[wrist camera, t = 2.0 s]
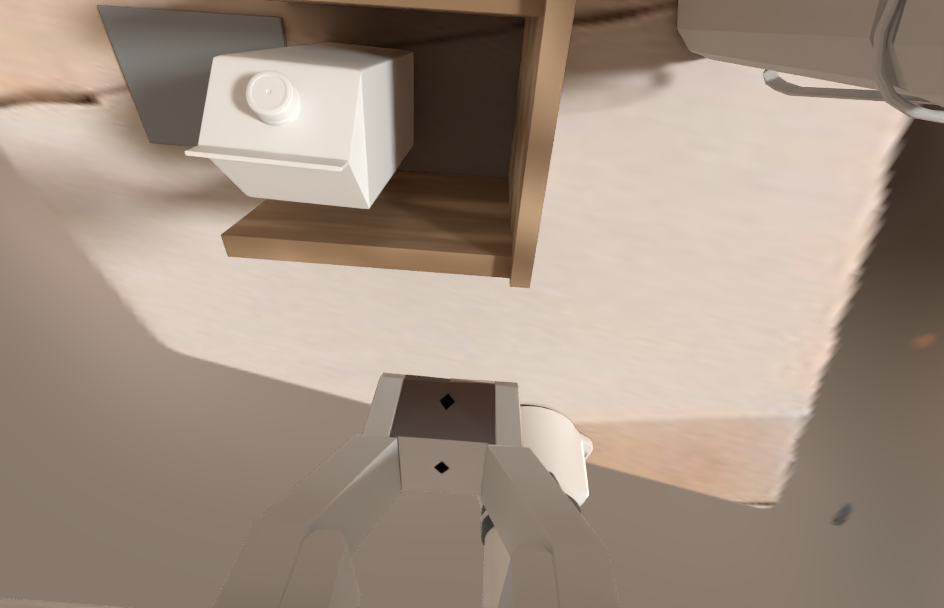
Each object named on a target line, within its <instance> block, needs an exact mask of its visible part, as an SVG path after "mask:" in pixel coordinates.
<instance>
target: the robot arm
mask: <svg viewBox="0 0 944 608" xmlns="http://www.w3.org/2000/svg"><path fill="white" fill-rule="evenodd" d="M592 450H593V445H592V441H591V440H590V439H589V438H587V437H585V436H584V435H582V434H580V433H579V432H578V431H577V430H576V428H575V427H574V425H573V424H572V423H571V422H570V421H569V420H568V419H567V418H566V417H564V416H563V415H561V414H559V413H557V412H555V411H553V410H550V409H546V408H542V407H535V406H520V395H519V386H518V384H517V383H512V382H497V381H495V382H494V381H483V380H467V379H452V378H450V379H446V378H436V377H426V376H416V375H402V374H392V373H383V374H382V375H381V377H380V379H379V382H378V385H377V388H376V391H375V394H374V398H373V401H372V404H371V407H370V411H369V414H368V417H367V420H366V423H365V427H364V429H363V433H362V435H356V434H355V435H354V436H353V437H351V438H350V439H349V440H348V441H347V442H346V443H344V444H343V445H342V446H341V447H340V448H338V449H337V450H336V451H335V452H334V453H333V454H332V455H330V456H329V457H328V458H327V459H326V460H325V461H323V462H322V463H321V464H320V465H319V466H318V467H317V468H315V469H314V470H313V471H312V472H311V473H310V474H308V475H307V476H306V477H305V478H304V479H303V480H302V481H300V482H299V483H298V484H297V485H296V486H295V487H293V488H292V489H291V490H290V491H289V492H288V493H286V494H285V495H284V496H283V497H282V498H281V499H279V500H278V501H277V502H276V503H275V504H274V505H273V506H271V507H270V508H269V509H268V510H267V511H266V512H264V513H263V514H262V515H261V516H260V517H259V518H258V519H256V520H255V521H254V522H253V524H252V527H251V528H250V530H249V533H248V535H247V537H246V539H245V541H244V543H243V545H242V547H241V549H240V552H239V554H238V556H237V558H236V560H235V562H234V564H233V566H232V568H231V570H230V572H229V575H228V576H227V579H226V581H225V583H224V585H223V587H222V589H221V591H220V594H219V595H218V597H217V599H216V602H215V604H214V606H213V608H359V604H360V599H361V596H360V592H359V588H358V584H357V580H356V576H355V572H354V568H353V564H352V560H351V556H352V555H353V554H354V552H355V551H356V550H357V549H358V547H359V546H360V545H361V543H362V542H363V541H364V540H365V538H366V537H367V536H368V535H369V533H370V532H371V531H372V529H373V528H374V527H375V526H376V524H377V523H378V522H379V521H380V519H381V518H382V517H383V516H384V514H385V513H386V512H387V510H388V509H389V508H390V507H391V505H392V504H393V503H394V502H395V500H396V499H397V498H398V497H399V495H400V494H401V490H408V491H428V492H446V493H455V494H465V495H474V496H477V499H478V502H479V505H480V508H481V510H482V514H481V522H480V528H481V529H480V530H481V539H482V543H483V545H484V546H485V547H484V580H483V608H620V604H619V600H618V596H617V590H616V586H615V581H614V576H613V572H612V567H611V562H610V557H609V553H608V549H607V548H606V547H605V545H604V544H603V543H602V541H601V540H600V539H599V537H598V536H597V535H596V533H595V532H594V531H593V529H592V528H591V527H590V526H589V524H588V523H587V522H586V520H585V519H584V518H583V516H582V515H581V509H580V506H581V505H582V504H583V503H584V501H585V499H586V498H587V497H588V495H589V489H588V482H587V473H586V466H585V460H586V459H587V457H588V456H589V454H590V453H591V452H592ZM0 608H128V607H114V606H101V605H88V604H75V603H62V602H47V601H35V600H34V601H33V600H22V599H8V598H0Z"/></svg>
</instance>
